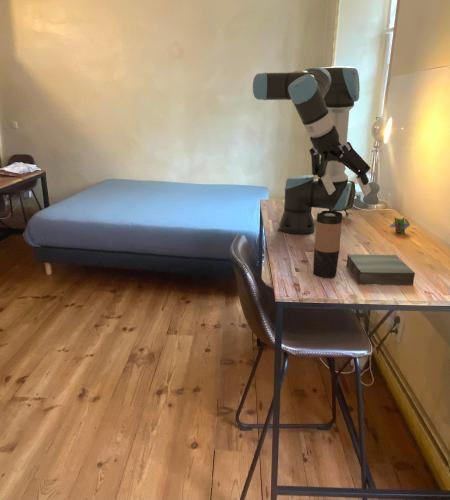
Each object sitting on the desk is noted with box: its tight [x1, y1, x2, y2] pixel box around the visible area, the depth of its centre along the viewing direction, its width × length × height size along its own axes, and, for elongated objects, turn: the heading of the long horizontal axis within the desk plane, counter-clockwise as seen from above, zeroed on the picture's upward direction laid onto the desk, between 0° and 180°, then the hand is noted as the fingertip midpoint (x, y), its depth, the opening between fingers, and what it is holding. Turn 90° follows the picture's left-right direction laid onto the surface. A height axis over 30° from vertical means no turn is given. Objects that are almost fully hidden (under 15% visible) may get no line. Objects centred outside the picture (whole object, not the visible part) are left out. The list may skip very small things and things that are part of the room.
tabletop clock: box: [328, 167, 356, 217], centre depth 204 cm, size 14×9×25 cm, turn 114°
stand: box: [346, 253, 416, 286], centre depth 135 cm, size 16×16×4 cm
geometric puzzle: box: [389, 217, 411, 235], centre depth 180 cm, size 7×7×8 cm
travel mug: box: [312, 210, 343, 279], centre depth 133 cm, size 8×8×20 cm
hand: (349, 192), depth 128 cm, fingers open, 13 cm apart
